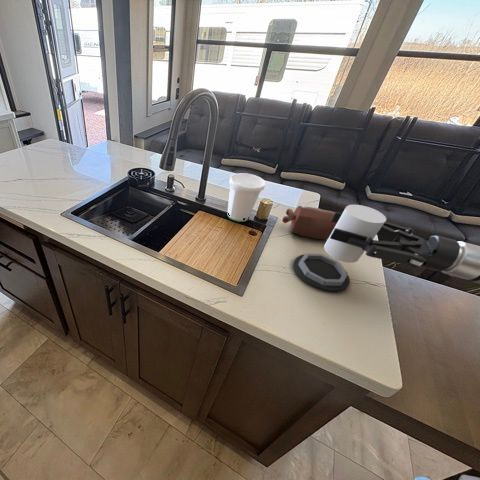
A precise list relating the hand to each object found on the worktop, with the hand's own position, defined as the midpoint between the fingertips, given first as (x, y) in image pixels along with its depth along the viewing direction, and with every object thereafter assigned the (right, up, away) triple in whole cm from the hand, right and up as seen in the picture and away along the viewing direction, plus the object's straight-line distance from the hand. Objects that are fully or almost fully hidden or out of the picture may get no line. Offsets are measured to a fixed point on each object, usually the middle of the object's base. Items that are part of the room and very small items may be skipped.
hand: (333, 224), depth 64 cm
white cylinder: (+4, -7, +3) cm, 9 cm away
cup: (-13, +5, +36) cm, 39 cm away
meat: (+10, -2, +28) cm, 30 cm away
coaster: (+4, -14, +12) cm, 19 cm away
